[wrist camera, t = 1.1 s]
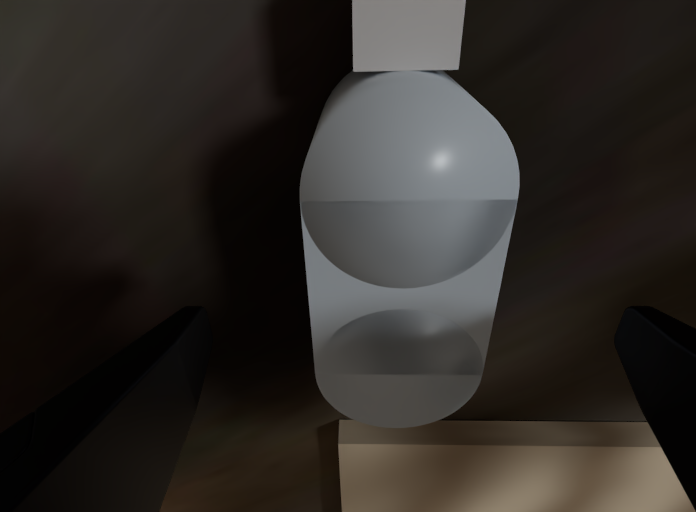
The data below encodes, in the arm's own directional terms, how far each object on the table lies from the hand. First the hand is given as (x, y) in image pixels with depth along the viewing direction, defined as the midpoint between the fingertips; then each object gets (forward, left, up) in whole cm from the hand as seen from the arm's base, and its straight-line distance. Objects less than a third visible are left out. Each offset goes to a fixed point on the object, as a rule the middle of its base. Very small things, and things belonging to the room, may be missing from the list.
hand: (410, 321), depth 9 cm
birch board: (-8, +20, -5) cm, 22 cm away
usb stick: (0, -1, -5) cm, 5 cm away
